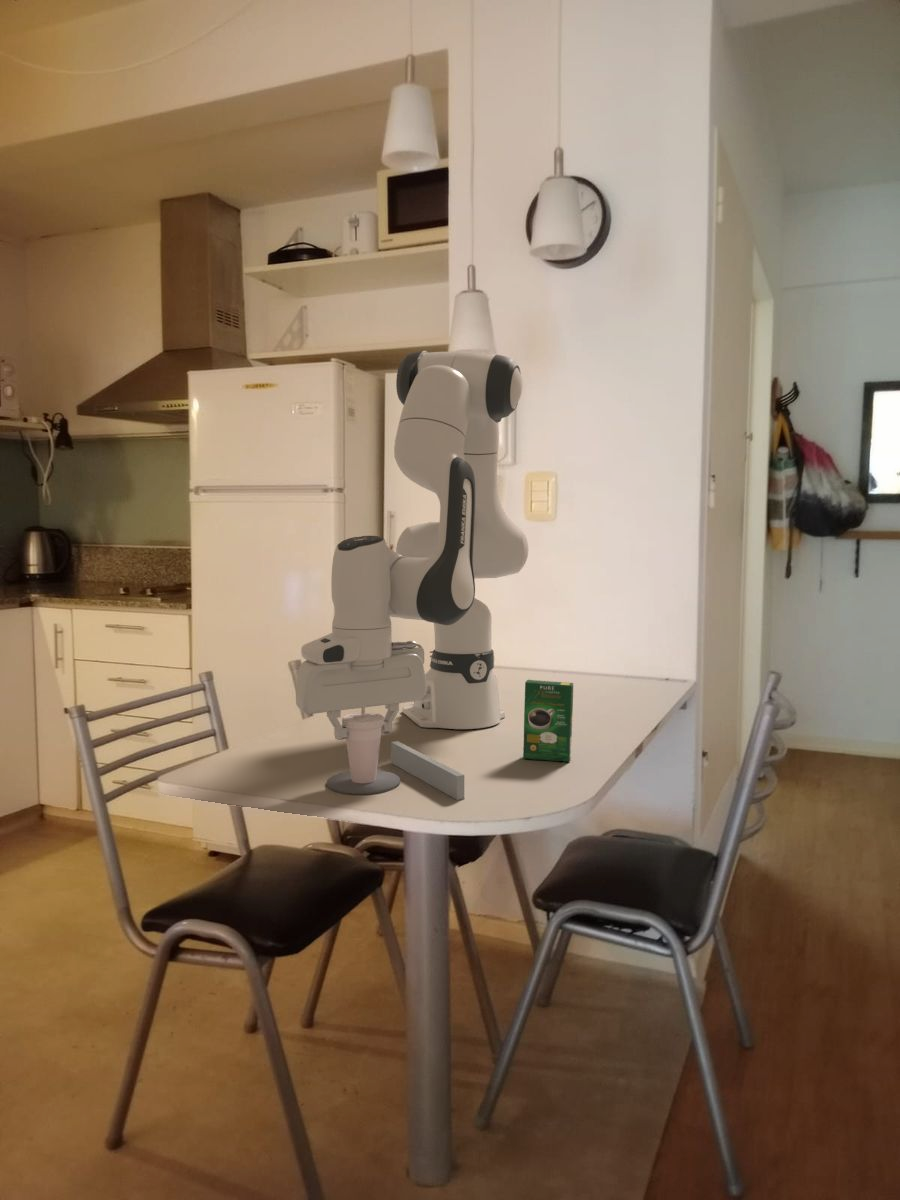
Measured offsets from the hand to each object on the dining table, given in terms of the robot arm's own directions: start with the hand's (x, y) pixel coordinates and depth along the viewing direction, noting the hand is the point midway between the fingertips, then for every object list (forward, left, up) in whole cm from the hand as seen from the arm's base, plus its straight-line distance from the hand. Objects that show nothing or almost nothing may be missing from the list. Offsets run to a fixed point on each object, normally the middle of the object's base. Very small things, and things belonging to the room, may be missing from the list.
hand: (363, 735), depth 136 cm
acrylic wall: (+3, +9, -7) cm, 12 cm away
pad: (0, 0, -7) cm, 7 cm away
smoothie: (0, 0, -7) cm, 7 cm away
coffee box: (+3, +32, -8) cm, 33 cm away
